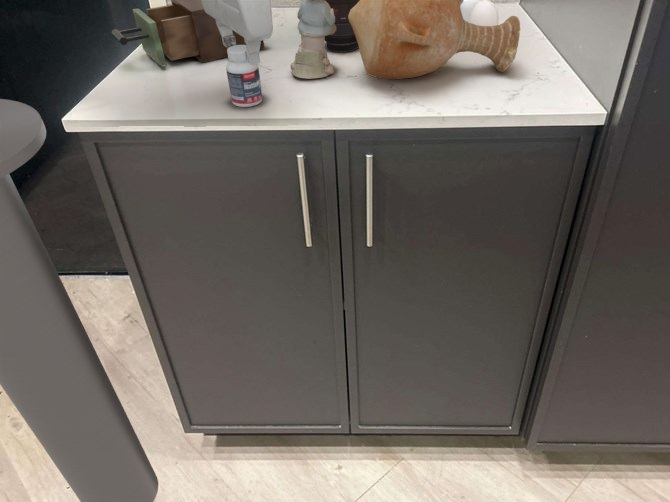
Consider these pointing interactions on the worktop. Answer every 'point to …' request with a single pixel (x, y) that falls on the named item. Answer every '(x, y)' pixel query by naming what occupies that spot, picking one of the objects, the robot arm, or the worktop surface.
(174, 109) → the worktop surface
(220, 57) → the cabinet
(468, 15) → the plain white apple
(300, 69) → the figurine
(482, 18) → the egg
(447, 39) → the jug
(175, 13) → the drawer
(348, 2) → the camera lens
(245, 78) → the pill bottle
